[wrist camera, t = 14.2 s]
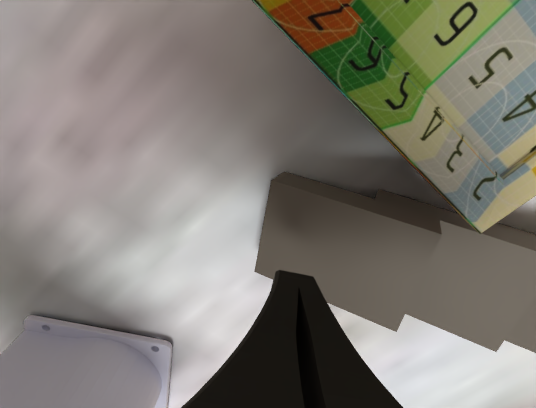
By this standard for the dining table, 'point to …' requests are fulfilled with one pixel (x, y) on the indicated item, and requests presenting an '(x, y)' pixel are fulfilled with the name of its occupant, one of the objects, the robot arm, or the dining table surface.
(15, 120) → the dining table surface
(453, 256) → the domino
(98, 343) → the robot arm
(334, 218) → the domino
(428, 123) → the puzzle game
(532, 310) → the domino
